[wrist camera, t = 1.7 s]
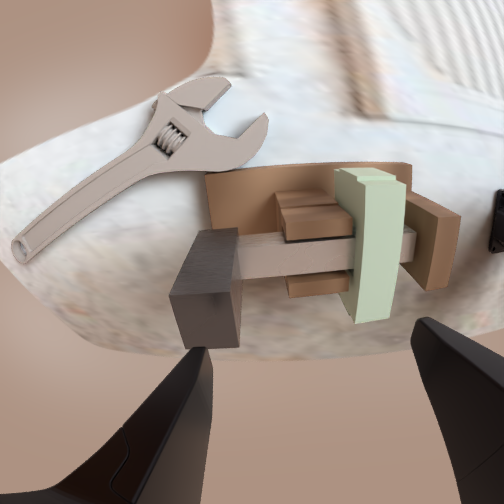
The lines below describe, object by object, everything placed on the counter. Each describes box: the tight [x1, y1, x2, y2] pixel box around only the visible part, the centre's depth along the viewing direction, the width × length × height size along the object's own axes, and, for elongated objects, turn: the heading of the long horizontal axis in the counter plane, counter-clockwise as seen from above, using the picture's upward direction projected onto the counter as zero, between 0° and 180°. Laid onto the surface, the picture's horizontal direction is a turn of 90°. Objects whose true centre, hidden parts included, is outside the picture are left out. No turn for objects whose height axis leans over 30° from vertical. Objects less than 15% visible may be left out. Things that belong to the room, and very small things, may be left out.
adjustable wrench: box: [11, 77, 269, 264], centre depth 17 cm, size 25×6×2 cm, turn 109°
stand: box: [204, 162, 461, 298], centre depth 15 cm, size 14×7×8 cm, turn 96°
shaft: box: [169, 224, 417, 349], centre depth 12 cm, size 11×2×6 cm, turn 96°
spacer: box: [334, 168, 406, 324], centre depth 14 cm, size 2×7×5 cm, turn 6°
